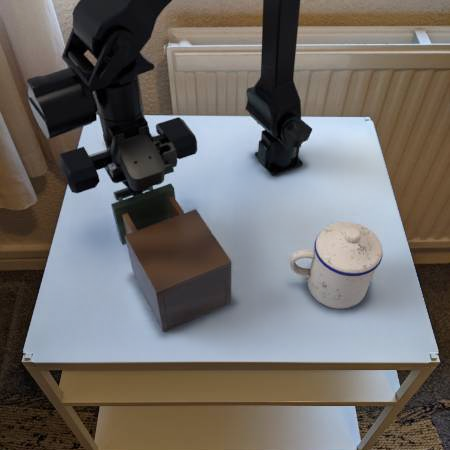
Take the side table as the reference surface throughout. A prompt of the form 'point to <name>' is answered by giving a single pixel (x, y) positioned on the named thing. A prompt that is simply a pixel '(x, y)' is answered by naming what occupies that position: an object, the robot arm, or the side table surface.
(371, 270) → the teacup with lid
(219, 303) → the cabinet
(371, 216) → the side table surface
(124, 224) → the drawer
